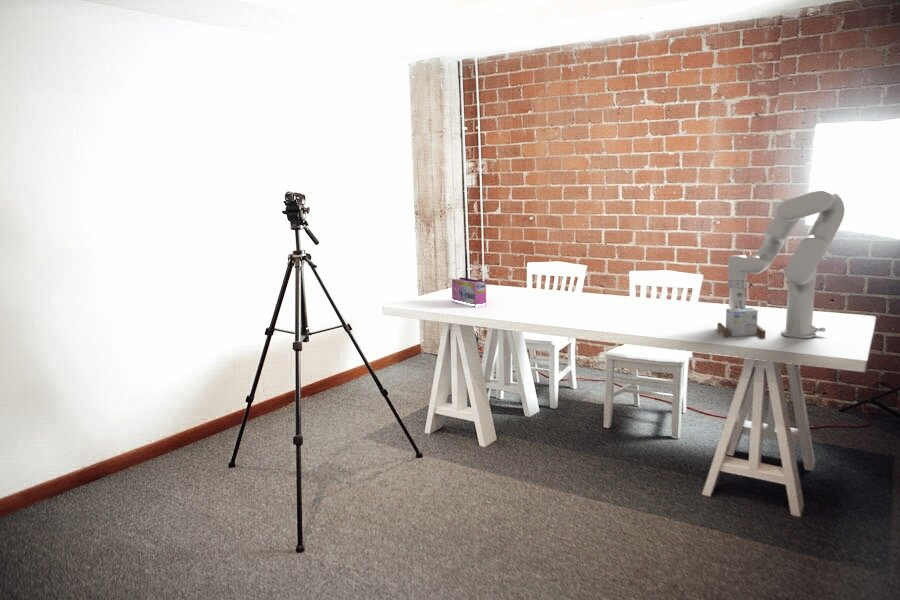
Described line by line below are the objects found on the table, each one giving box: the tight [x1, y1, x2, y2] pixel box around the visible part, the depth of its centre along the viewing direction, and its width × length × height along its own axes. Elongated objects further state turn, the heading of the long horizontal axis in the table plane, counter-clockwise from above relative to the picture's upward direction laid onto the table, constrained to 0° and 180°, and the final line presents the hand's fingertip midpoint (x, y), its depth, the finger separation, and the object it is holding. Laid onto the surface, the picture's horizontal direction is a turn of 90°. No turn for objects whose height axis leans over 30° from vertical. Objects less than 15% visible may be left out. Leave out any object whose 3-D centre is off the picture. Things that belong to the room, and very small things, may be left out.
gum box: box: [451, 277, 487, 305], centre depth 358 cm, size 24×8×14 cm, turn 35°
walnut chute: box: [716, 322, 766, 339], centre depth 270 cm, size 15×15×3 cm
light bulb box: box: [725, 307, 759, 337], centre depth 269 cm, size 11×7×11 cm, turn 92°
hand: (735, 325), depth 279 cm, fingers closed
